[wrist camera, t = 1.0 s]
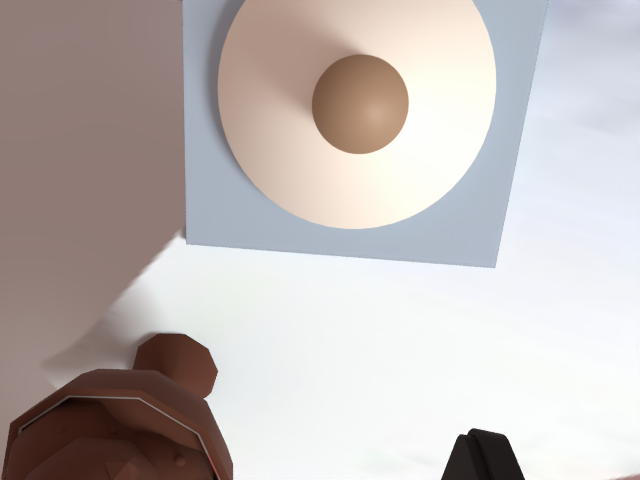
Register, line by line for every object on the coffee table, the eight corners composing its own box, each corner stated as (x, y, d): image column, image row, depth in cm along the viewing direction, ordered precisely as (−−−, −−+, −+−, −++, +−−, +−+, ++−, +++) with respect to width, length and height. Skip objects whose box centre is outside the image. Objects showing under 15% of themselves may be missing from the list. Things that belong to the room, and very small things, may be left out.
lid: (514, -45, 24) (568, -76, 19) (466, 232, 29) (497, 274, 23) (222, -67, 24) (188, -104, 19) (220, 214, 29) (193, 251, 24)
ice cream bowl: (56, 353, 33) (-152, 571, 19) (188, 262, 31) (62, 434, 17) (164, 462, 36) (51, 725, 22) (292, 386, 33) (260, 625, 19)
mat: (561, -87, 24) (566, -90, 24) (492, 264, 30) (495, 268, 30) (183, -115, 24) (180, -119, 24) (188, 241, 30) (186, 244, 30)
